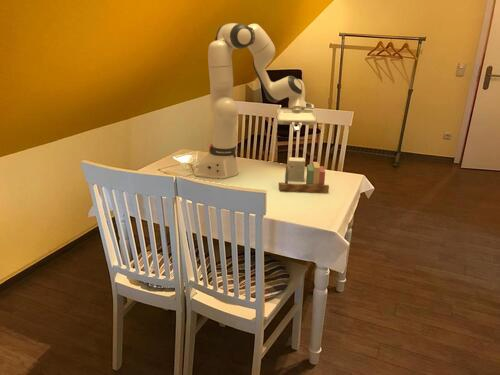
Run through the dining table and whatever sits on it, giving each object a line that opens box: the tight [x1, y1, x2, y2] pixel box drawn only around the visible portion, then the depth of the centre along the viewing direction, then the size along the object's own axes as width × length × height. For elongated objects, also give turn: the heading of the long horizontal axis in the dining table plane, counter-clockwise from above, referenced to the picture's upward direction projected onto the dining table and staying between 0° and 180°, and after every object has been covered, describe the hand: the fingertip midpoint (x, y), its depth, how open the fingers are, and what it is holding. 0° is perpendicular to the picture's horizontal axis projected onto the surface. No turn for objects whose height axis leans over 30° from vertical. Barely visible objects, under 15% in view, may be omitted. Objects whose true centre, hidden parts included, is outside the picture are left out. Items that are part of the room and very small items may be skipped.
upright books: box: [305, 161, 326, 185], centre depth 195 cm, size 8×8×12 cm
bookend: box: [278, 165, 289, 191], centre depth 196 cm, size 4×8×9 cm, turn 177°
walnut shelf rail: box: [279, 182, 330, 194], centre depth 192 cm, size 22×2×4 cm, turn 87°
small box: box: [287, 156, 306, 182], centre depth 206 cm, size 8×6×10 cm
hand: (296, 130), depth 215 cm, fingers closed
